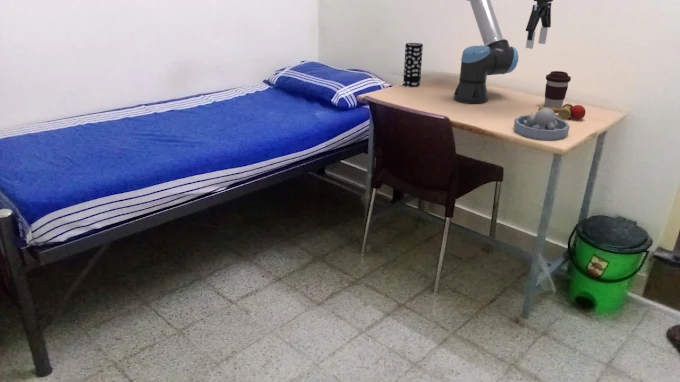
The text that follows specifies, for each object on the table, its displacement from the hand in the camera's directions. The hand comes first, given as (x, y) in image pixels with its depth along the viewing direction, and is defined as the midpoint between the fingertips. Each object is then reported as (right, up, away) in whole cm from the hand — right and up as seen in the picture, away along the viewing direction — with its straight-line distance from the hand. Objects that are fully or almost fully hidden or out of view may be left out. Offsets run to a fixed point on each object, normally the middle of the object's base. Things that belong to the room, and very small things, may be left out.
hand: (535, 45), depth 214 cm
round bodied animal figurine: (-4, -36, -15) cm, 39 cm away
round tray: (-4, -37, -15) cm, 40 cm away
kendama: (+11, -29, +2) cm, 31 cm away
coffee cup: (+13, -23, +15) cm, 30 cm away
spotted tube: (-44, -7, +48) cm, 66 cm away
